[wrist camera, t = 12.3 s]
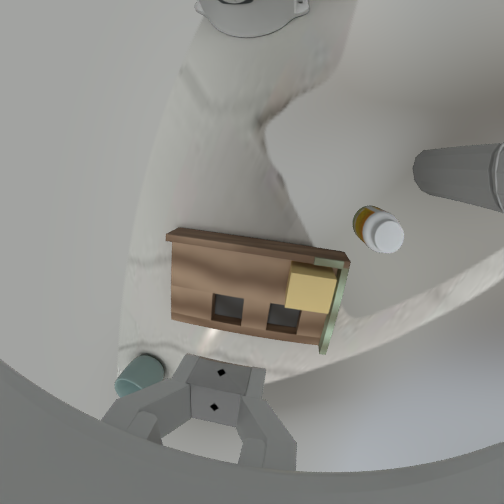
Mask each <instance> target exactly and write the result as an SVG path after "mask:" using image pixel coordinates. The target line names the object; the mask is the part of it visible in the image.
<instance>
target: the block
mask: <svg viewBox="0 0 504 504" xmlns="http://www.w3.org/2000/svg"><path fill="white" fill-rule="evenodd" d="M336 282H337V279H336V276H335V273H334V271H333V269H332V267H326V266H319V265H314V264H309V263H303V262H297V261H291V266H290V271H289V277H288V282H287V288H286V294H285V308H291V309H298V310H305V311H311V312H318V313H326V314H328V313H329V309H330V306H331V302H332V298H333V294H334V290H335V286H336Z"/></svg>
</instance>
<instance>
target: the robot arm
mask: <svg viewBox="0 0 504 504" xmlns="http://www.w3.org/2000/svg"><path fill="white" fill-rule="evenodd" d="M299 2H302V4H300V3H299ZM195 9H196V11H197V12H198V13H200V14H202V15H204V16H206V17H207V18H208V19H209V20H210V22H211V23H212V25H213V26H214V27H215V28H216V29H218V30H219V31H221V32H223V33H225V34H228V35H231V36H236V37H257V36H262V35H266V34H269V33H272V32H274V31H276V30H278V29H280V28H282V27H283V26H284V25H286V24H287V23H288V22H289V21H290V20H292V19H293V18H295V17H298V16H302V15H304V14H306V13H308V12H309V4H308V0H197V2H196V4H195ZM265 374H266V369H265V368H257V367H249V366H243V365H237V364H232V363H227V362H222V361H218V360H213V359H209V358H205V357H201V356H196V355H192V354H188V353H187V354H186V355H185V356H184V358H183V360H182V361H181V363H180V365H179V366H178V368H177V370H176V372H175V373H174V375H173V377H172V379H168V378H167V379H165V380H162V381H160V382H158V383H155V384H153V385H151V386H148V387H146V388H144V389H141V390H139V391H136V392H134V393H131V394H129V395H126V396H124V397H121V398H119V399H116V401H115V402H114V403H113V405H112V406H111V408H110V409H109V410H108V412H107V413H106V414H105V416H104V417H103V418H102V420H101V421H100V420H98V419H96V418H94V417H92V416H90V415H88V414H86V413H84V412H82V411H80V410H78V409H76V408H74V407H72V406H70V405H69V404H67V403H65V402H63V401H62V400H60V399H58V398H56V397H55V396H53V395H51V394H50V393H48V392H46V391H45V390H43V389H41V388H40V387H38V386H37V385H36V384H34V383H33V382H31V381H30V380H28V379H27V378H25V377H24V376H22V375H21V374H20V373H18V372H17V371H15V370H14V369H13V368H11V367H10V366H9V365H7V364H6V363H5V362H4V361H2V360H1V359H0V504H504V442H502V443H498V444H494V445H492V446H489V447H486V448H483V449H480V450H477V451H474V452H471V453H468V454H464V455H461V456H457V457H453V458H449V459H446V460H441V461H436V462H432V463H427V464H421V465H416V466H410V467H403V468H396V469H387V470H376V471H363V472H302V471H301V472H300V471H296V452H297V451H296V450H297V443H296V441H295V440H294V439H293V437H292V436H291V434H290V433H289V432H288V430H287V429H286V428H285V426H284V425H283V423H282V422H281V421H280V419H279V418H278V416H277V415H276V414H275V412H274V411H273V409H272V408H271V406H270V405H269V404H268V402H267V401H266V400H265V399H262V394H263V386H264V381H265ZM191 417H192V418H196V419H201V420H206V421H210V422H215V423H219V424H224V425H228V426H232V427H236V429H237V431H238V434H239V436H240V438H241V440H242V442H243V445H242V449H241V453H240V458H239V461H238V464H234V463H229V462H224V461H219V460H215V459H210V458H206V457H202V456H198V455H194V454H190V453H187V452H183V451H180V450H176V449H173V448H170V447H166V446H163V444H162V440H161V438H163V437H164V436H166V435H167V434H169V433H170V432H172V431H173V430H175V429H176V428H178V427H179V426H181V425H182V424H184V423H185V422H186V421H188V420H189V419H191Z"/></svg>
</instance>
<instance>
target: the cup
mask: <svg viewBox="0 0 504 504" xmlns="http://www.w3.org/2000/svg"><path fill="white" fill-rule="evenodd" d="M163 378H164V369H163V367H162V365H161V363H160V362H159V361H158V360H156V359H155V358H153V357H151V356H147V355H142V356H139V357H137V358H135V359H134V360H133V361H132V362H131V363H130V364H129V365H128V366H127V367H126V368H125V369H124V370H123V372H122V373H121V374H120V375H119V377H118V378H117V380H116V382H115V390H116V392H117V394H118V395H119V396H120V398H121V397H124V396H126V395H129V394H131V393H134V392H136V391H139V390H141V389H144V388H146V387H148V386H151V385H153V384H155V383H158V382H160V381H162V380H163Z"/></svg>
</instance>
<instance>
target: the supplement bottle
mask: <svg viewBox="0 0 504 504" xmlns="http://www.w3.org/2000/svg"><path fill="white" fill-rule="evenodd" d="M353 229H354V232H355V233H356V235H357V236H358V237H359V238H360V239H361V240H362V241H363V242H364V243H365V244H366V245H367V246H368V247H369V248H370V249H371V250H373V251H375V252H379V253H393V252H395V251H397V250H398V249H399V248H400V247H401V245H402V243H403V241H404V232H403V229H402V227H401V226H400V223H399V221H398V220H397V218H396V217H395V216H393V215H392V214H391V213H389V212H386V211H384V210H382V209H380V208H377V207H375V206H365V207H362V208H361V209H359V210H358V211H357V213H356V214H355V216H354V219H353Z"/></svg>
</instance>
